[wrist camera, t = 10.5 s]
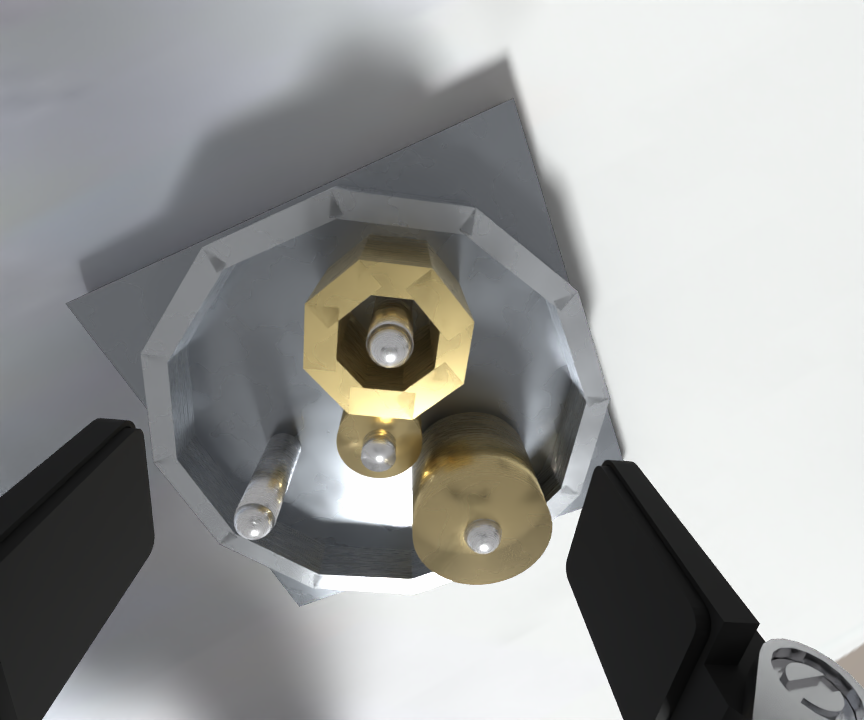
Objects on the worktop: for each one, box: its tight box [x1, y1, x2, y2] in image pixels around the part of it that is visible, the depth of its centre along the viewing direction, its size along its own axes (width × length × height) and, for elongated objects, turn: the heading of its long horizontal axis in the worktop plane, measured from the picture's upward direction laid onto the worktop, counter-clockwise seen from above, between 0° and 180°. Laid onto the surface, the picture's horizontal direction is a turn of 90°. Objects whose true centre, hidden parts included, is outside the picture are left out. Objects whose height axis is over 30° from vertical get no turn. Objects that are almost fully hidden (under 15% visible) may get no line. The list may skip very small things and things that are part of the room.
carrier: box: [66, 98, 623, 607], centre depth 21 cm, size 20×20×7 cm
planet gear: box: [303, 234, 474, 420], centre depth 19 cm, size 6×6×5 cm
